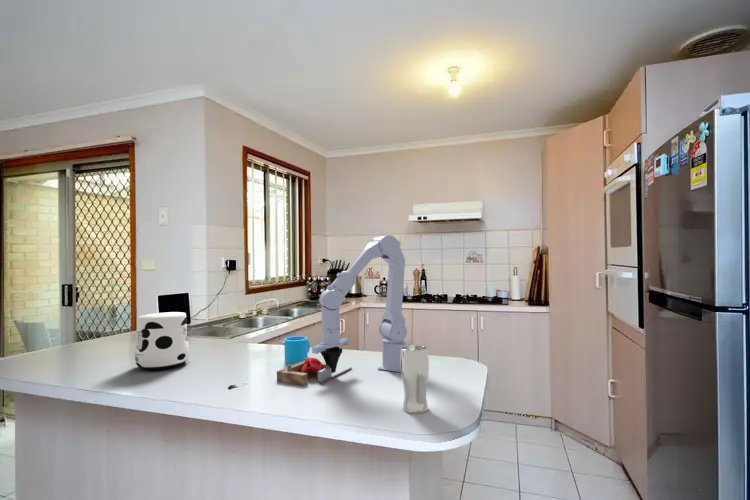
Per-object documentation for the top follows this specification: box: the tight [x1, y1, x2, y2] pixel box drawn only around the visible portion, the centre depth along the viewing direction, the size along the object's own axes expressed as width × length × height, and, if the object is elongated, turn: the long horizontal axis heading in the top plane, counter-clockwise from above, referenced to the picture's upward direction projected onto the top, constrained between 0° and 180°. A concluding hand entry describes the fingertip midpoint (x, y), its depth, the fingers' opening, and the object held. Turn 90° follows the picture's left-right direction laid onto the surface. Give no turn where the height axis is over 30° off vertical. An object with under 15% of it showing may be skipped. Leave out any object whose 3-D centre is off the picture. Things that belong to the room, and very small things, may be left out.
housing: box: [276, 358, 352, 386], centre depth 129 cm, size 14×20×4 cm
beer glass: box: [400, 344, 430, 415], centre depth 99 cm, size 7×7×15 cm
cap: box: [301, 357, 322, 374], centre depth 128 cm, size 8×6×6 cm
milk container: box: [134, 311, 191, 370], centre depth 144 cm, size 17×17×18 cm
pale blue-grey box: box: [317, 365, 333, 383], centre depth 123 cm, size 2×5×4 cm, turn 152°
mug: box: [283, 335, 311, 365], centre depth 148 cm, size 12×8×8 cm
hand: (331, 372), depth 127 cm, fingers closed
